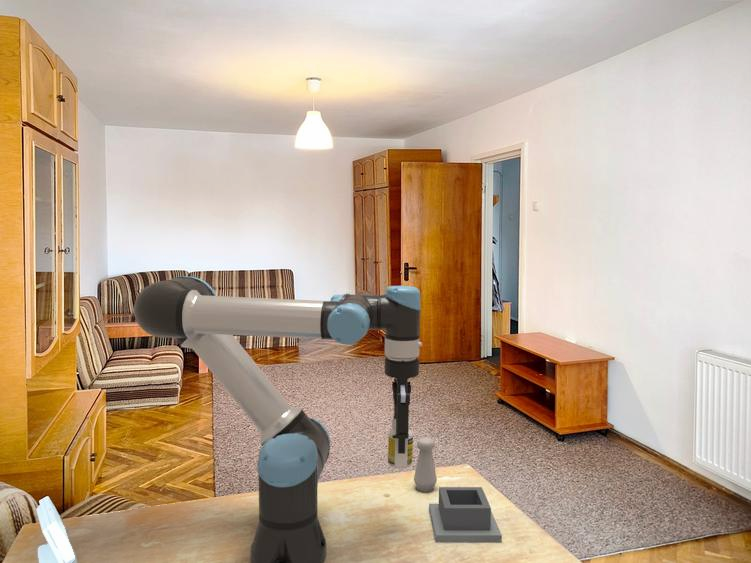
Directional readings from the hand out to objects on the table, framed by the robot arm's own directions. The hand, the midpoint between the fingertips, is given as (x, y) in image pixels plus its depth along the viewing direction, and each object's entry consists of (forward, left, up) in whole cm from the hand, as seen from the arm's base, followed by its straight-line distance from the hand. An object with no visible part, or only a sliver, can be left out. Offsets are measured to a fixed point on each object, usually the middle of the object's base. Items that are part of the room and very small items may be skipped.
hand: (400, 460), depth 125 cm
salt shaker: (-9, +18, -16) cm, 25 cm away
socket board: (+9, +11, -15) cm, 21 cm away
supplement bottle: (0, 0, -1) cm, 1 cm away
